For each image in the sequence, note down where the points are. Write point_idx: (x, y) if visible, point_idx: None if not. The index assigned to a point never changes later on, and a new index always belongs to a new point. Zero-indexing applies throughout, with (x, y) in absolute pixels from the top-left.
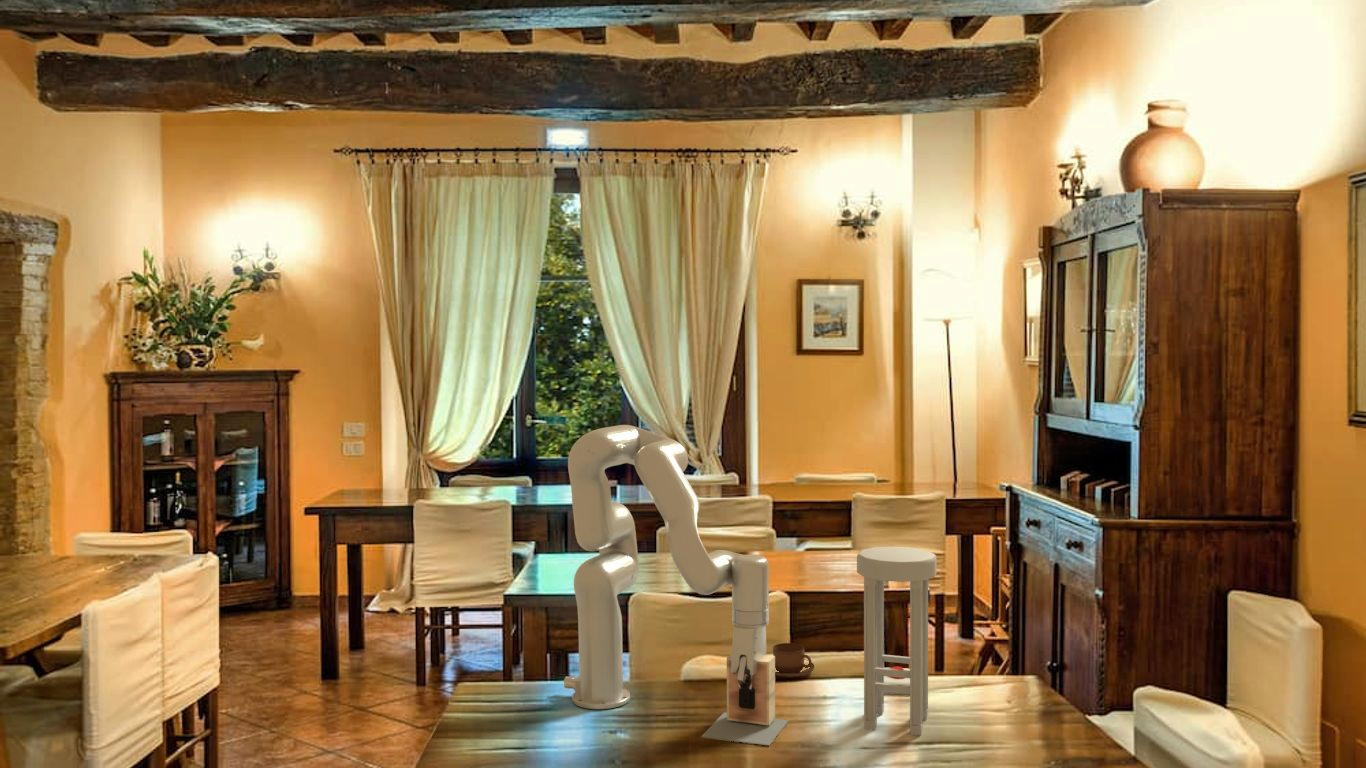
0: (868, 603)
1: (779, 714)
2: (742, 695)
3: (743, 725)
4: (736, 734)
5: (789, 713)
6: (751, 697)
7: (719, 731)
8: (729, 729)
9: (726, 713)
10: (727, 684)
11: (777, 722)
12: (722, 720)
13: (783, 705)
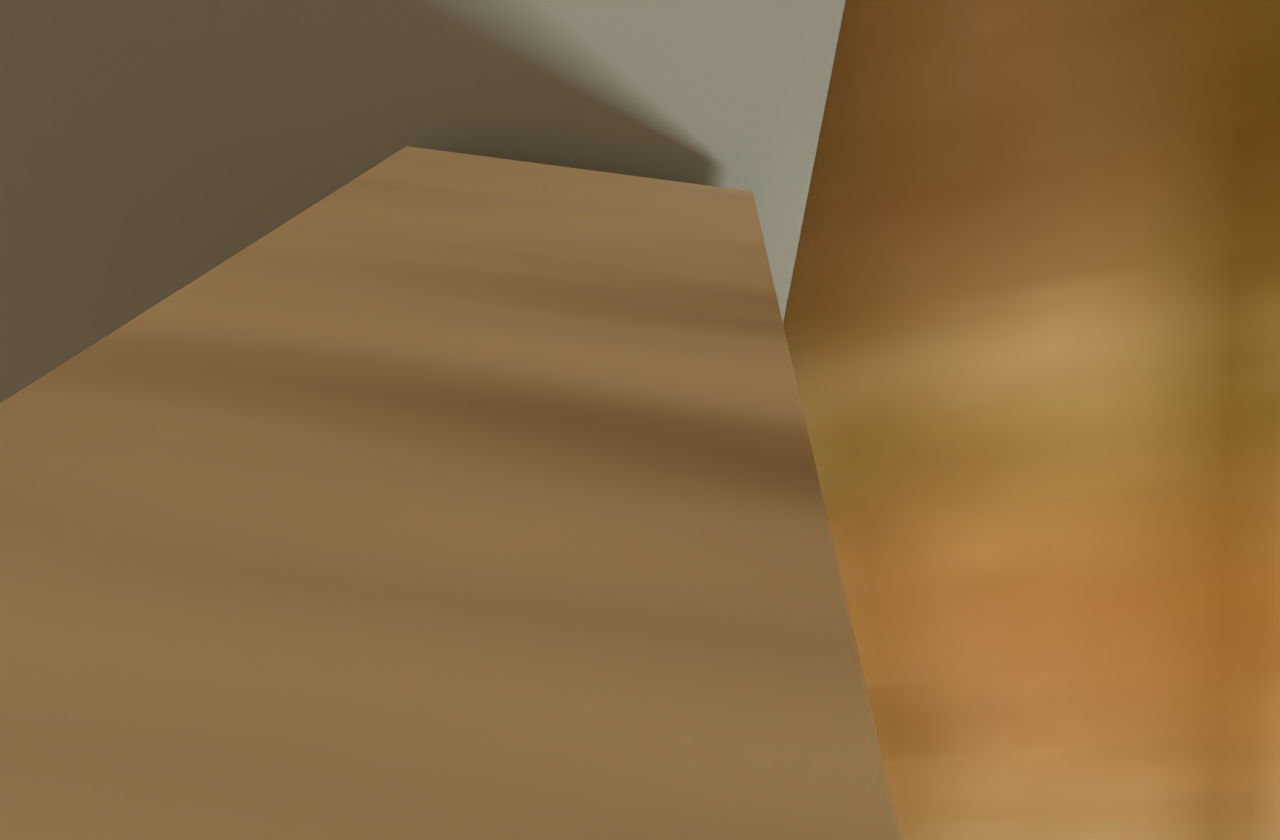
0: None
1: (910, 716)
2: None
3: None
4: (27, 359)
5: (955, 802)
6: None
7: (13, 103)
8: (151, 235)
9: (794, 51)
10: (51, 398)
11: None
12: (463, 51)
13: (1239, 729)
